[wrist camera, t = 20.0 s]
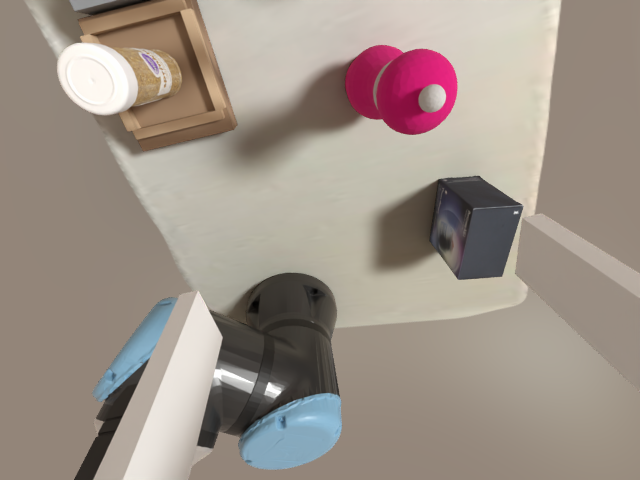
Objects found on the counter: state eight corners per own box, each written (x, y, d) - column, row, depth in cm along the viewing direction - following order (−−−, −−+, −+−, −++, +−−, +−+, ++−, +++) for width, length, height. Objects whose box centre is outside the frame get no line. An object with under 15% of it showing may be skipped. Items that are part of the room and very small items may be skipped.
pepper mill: (351, 122, 40) (398, 170, 23) (332, 62, 37) (369, 65, 20) (406, 99, 40) (496, 130, 22) (391, 35, 36) (485, 13, 19)
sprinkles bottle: (191, 73, 34) (140, 80, 22) (167, 107, 35) (107, 130, 23) (151, 37, 32) (72, 24, 20) (128, 74, 33) (41, 81, 21)
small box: (435, 177, 45) (472, 207, 36) (479, 174, 45) (527, 203, 36) (426, 242, 50) (456, 282, 41) (466, 238, 51) (505, 277, 42)
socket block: (237, 124, 39) (232, 131, 36) (152, 145, 40) (138, 154, 36) (195, -4, 33) (183, -12, 29) (94, 22, 33) (70, 17, 30)
